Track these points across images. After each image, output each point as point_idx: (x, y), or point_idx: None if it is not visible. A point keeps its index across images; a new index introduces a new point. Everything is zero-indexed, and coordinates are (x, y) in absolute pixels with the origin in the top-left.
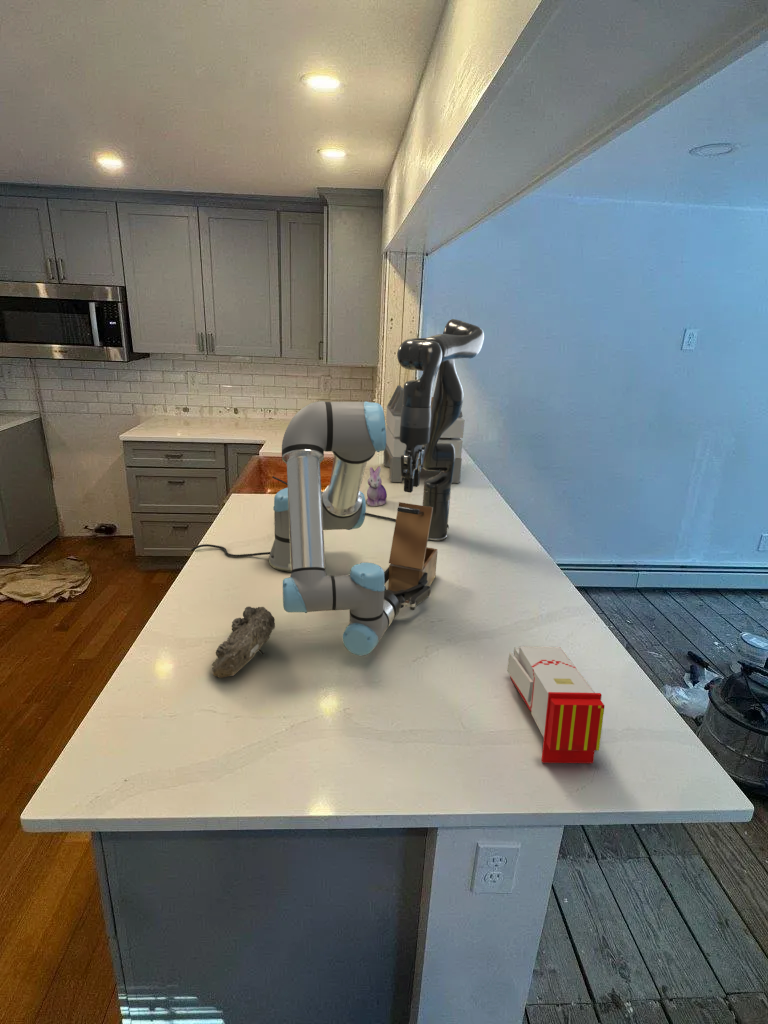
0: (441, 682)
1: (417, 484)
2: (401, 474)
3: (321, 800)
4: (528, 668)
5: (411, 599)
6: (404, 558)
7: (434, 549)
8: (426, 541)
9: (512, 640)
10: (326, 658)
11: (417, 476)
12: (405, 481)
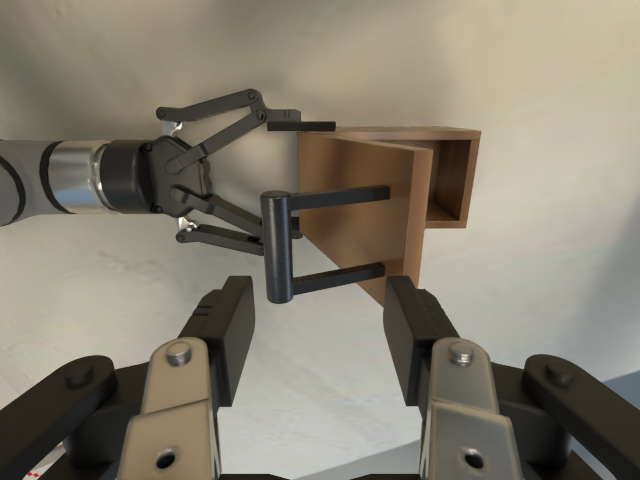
0: (77, 304)
1: (386, 332)
2: (43, 382)
3: None
4: (48, 457)
5: (182, 233)
6: (305, 182)
7: (461, 220)
8: (331, 259)
9: (247, 372)
10: (3, 103)
11: (401, 374)
12: (180, 337)
